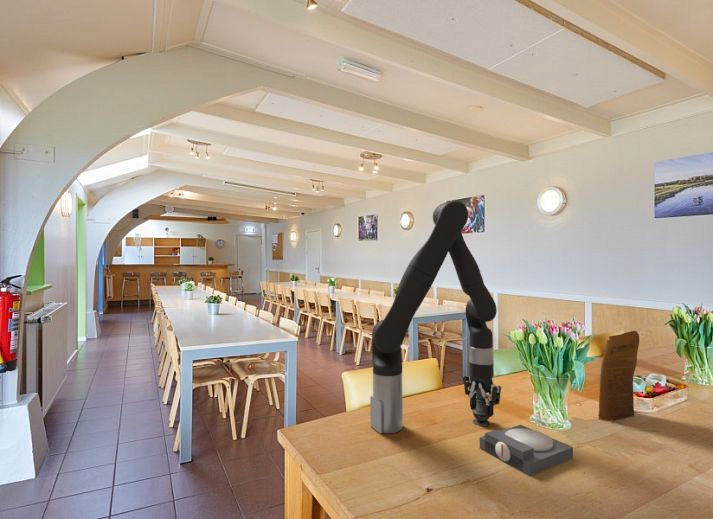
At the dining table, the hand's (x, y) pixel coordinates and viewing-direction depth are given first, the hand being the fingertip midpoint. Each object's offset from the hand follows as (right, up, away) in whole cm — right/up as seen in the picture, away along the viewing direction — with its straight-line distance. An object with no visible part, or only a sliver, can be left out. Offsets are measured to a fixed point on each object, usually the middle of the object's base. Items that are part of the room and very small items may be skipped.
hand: (481, 412), depth 125 cm
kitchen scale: (+5, -3, -20) cm, 21 cm away
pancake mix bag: (+47, -3, +4) cm, 47 cm away
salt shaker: (0, -3, 0) cm, 3 cm away
